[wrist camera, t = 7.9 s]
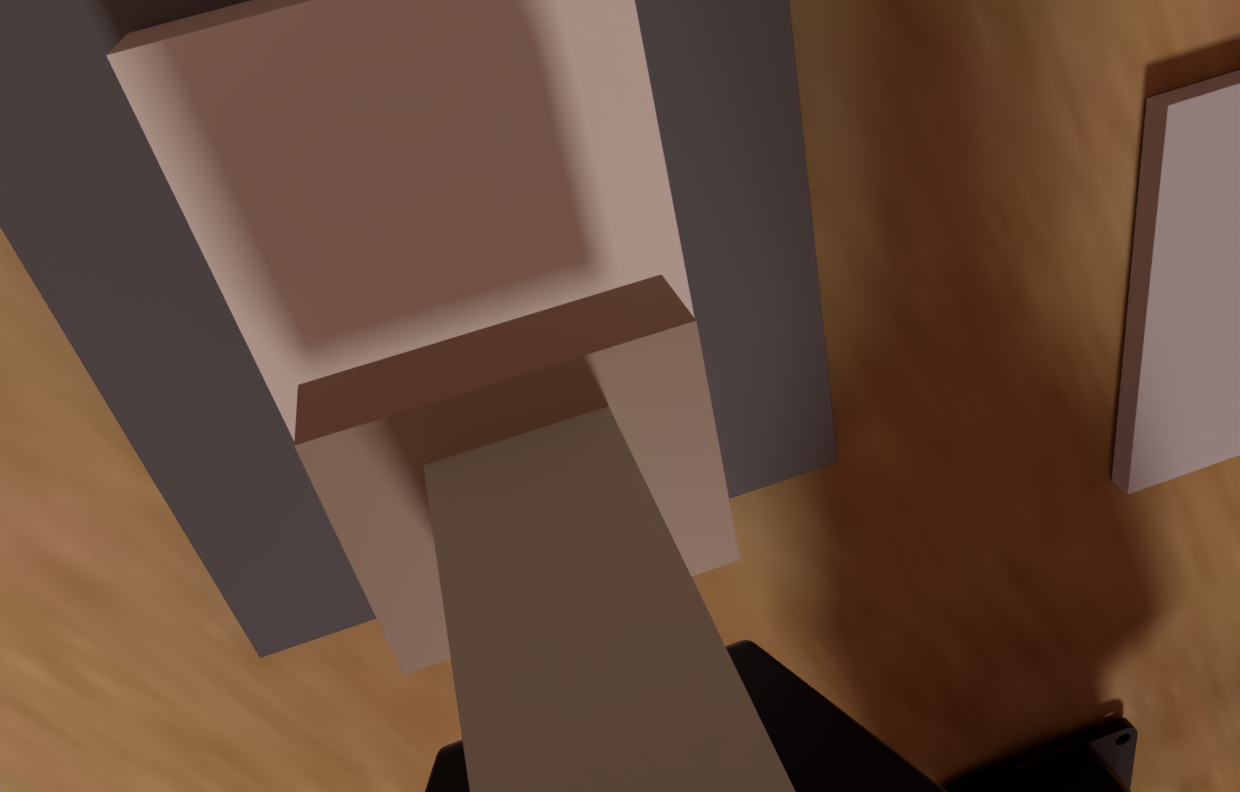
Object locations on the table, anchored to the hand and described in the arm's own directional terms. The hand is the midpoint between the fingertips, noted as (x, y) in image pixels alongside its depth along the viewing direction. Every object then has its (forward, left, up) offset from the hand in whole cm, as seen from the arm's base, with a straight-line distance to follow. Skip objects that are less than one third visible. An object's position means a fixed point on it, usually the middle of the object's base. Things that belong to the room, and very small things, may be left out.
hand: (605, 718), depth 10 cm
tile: (-2, 0, -8) cm, 9 cm away
